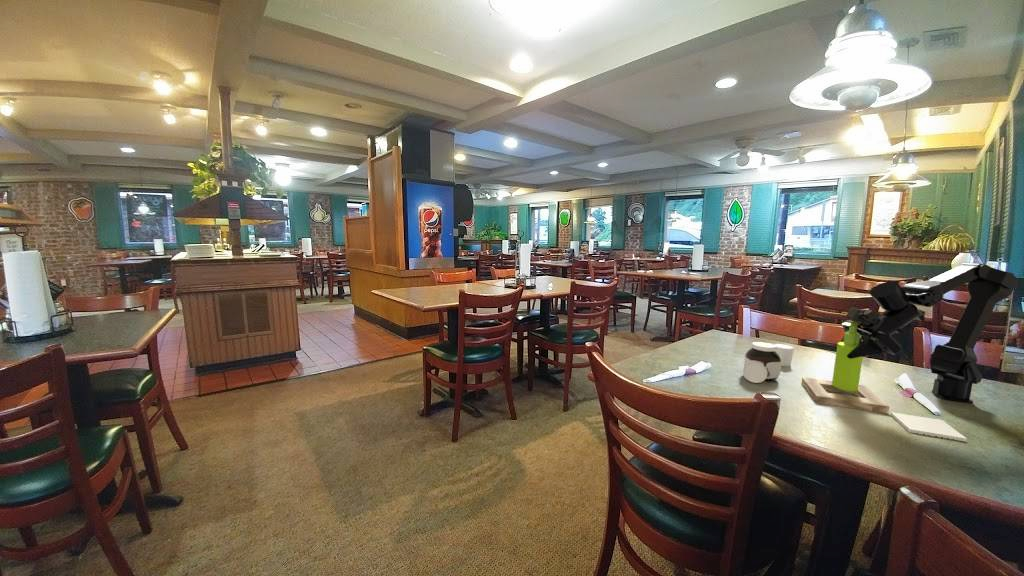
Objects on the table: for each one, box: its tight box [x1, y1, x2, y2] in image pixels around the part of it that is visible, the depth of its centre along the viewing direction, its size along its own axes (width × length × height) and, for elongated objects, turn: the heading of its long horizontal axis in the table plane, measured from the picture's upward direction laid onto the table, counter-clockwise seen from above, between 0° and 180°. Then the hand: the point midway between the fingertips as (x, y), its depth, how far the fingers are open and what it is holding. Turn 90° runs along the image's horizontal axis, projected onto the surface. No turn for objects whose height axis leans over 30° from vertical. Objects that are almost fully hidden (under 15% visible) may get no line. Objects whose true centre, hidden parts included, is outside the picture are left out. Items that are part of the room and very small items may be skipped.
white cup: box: [772, 343, 795, 367], centre depth 143 cm, size 7×7×7 cm
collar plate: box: [801, 376, 891, 414], centre depth 114 cm, size 16×16×2 cm
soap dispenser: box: [831, 320, 864, 391], centre depth 111 cm, size 6×7×20 cm
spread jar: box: [742, 341, 782, 384], centre depth 127 cm, size 12×11×12 cm
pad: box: [889, 411, 968, 442], centre depth 96 cm, size 10×10×1 cm
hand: (841, 354), depth 112 cm, fingers closed on soap dispenser, 6 cm apart
